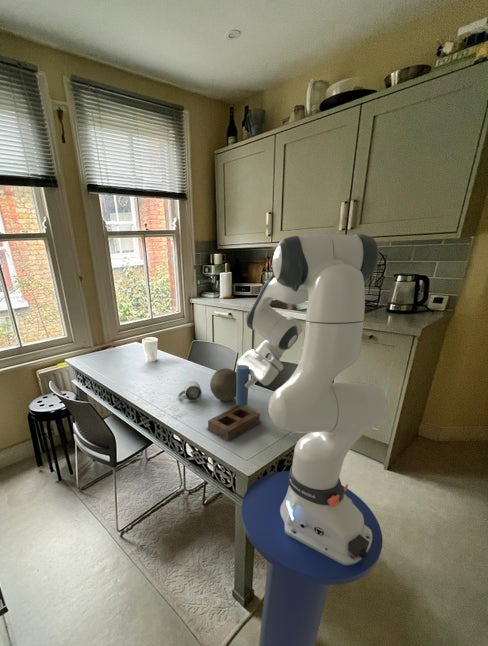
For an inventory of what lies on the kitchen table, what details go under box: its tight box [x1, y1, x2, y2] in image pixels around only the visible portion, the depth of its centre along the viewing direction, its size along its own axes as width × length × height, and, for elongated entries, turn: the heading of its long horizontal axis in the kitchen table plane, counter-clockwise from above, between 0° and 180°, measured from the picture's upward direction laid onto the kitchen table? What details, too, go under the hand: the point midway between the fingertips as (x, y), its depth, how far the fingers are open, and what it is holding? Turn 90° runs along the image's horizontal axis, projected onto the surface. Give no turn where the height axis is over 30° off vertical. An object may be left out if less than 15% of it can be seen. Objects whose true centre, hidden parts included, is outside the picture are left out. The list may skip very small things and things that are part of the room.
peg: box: [235, 365, 250, 407], centre depth 119 cm, size 4×4×15 cm
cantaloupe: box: [209, 367, 237, 402], centre depth 140 cm, size 14×14×15 cm
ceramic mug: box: [177, 380, 203, 402], centre depth 145 cm, size 11×8×8 cm
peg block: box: [207, 405, 261, 442], centre depth 123 cm, size 10×18×4 cm, turn 130°
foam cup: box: [141, 336, 159, 363], centre depth 192 cm, size 10×9×13 cm
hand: (241, 383), depth 119 cm, fingers closed on peg, 4 cm apart
